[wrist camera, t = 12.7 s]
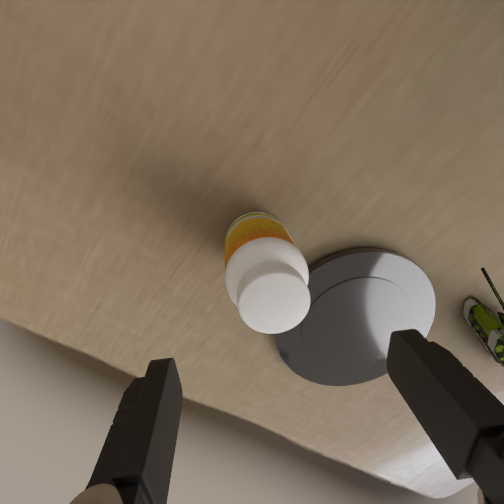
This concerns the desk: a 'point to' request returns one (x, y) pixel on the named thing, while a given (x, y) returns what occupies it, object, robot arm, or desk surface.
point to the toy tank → (487, 324)
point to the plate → (356, 315)
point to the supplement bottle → (265, 274)
